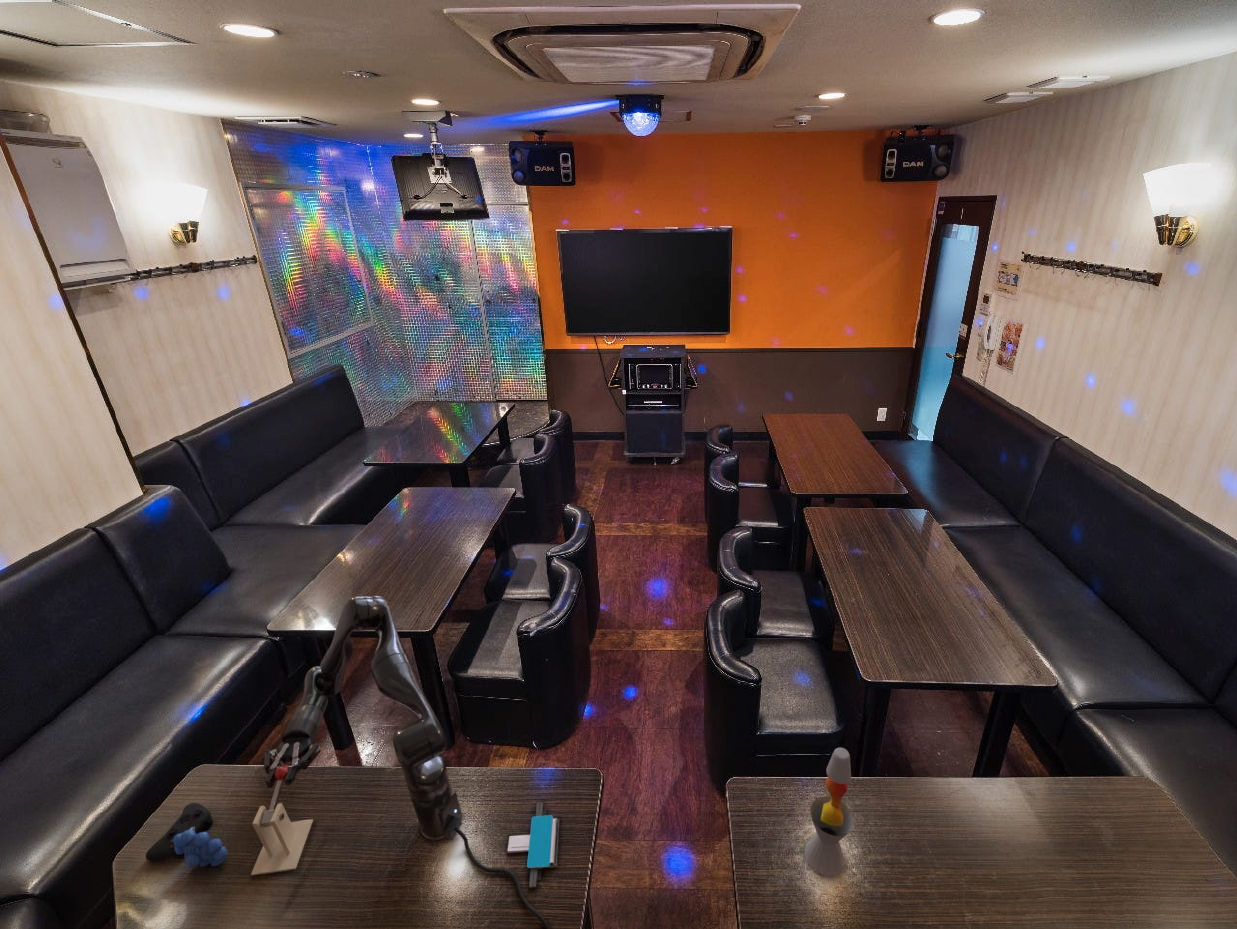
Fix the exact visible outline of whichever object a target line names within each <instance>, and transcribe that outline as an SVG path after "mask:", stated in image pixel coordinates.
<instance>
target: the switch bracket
mask: <svg viewBox="0 0 1237 929" xmlns="http://www.w3.org/2000/svg"><path fill="white" fill-rule="evenodd" d="M266 810H267V808H266V806H265V805H260V806H259V808H258V810H257V812H256V815H255V816H254V819H253V822H252V827H253V829H254V831H255V833H256V835H257V836H258V838H259V840H260V842H261V844H262V847H261V850H260V852H259V854H258V856H257V859H256V861H255V863H254V866H253V868H252V870H251V873H250V876H251V877H252V876H261V875H266V874H274V873H281V872H288V871H294V870H296V869H297V866H298V865H299V864H298V863H299V861H300V859H301V856H302V852H303V850H304V847H305V845H306V842H307V839H308V836H309V833H310V831H311V828H312V825H313V822H314V819H313V818H311V819H303V820H296V821H291V819H290V817H289V815H288V813H287V811H286V809H285V806H284V805H283V802H279V803H277V806H276V809H275V811H274V814H273V816H272V818H271V821H270V822H271V824H272V826H270V827H264V826H263V825H262V824H261V821H262V818H263V815H264V811H266Z"/></svg>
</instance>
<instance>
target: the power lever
mask: <svg viewBox="0 0 1237 929" xmlns="http://www.w3.org/2000/svg"><path fill="white" fill-rule="evenodd" d="M289 768H290V767H289V766H287V765H285V766H281V767H279V768H278V769H277V770H276V771H275V773H274V778H275V782H276V784H275V788H274V791H273V794H272V798H271V801H270V805H269V808H268V809H266V811H264V815H263V818H262V821H261V824H262V825H263V826H264V827H270V826H272V824H271V822H270V821H271V818H272V816H273V814H274V811H275V809H276V807H277V804H278V803H279V798H280V795H281V791H282V788H283V784H284V783H285V778H286V775H287V773H288V771H289Z"/></svg>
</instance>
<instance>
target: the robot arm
mask: <svg viewBox="0 0 1237 929" xmlns="http://www.w3.org/2000/svg"><path fill="white" fill-rule="evenodd" d="M362 631H363V632H364V631H365V632H366V631H374V632H375V633H377V637H378V644H377V646H376V649H375V651H374V653H373V656H372V658H371V661H370V662H371V664H370V671H371V674H372V677H373V680H374V682H375V685H376V687H377V689H378V691H379V692H380V693H381V694H382V695H383V696H384V697H385V698H387V699H389V700H390V701H393V702H395V703H397V704H400V705H401V706H403V707H406V708H407V709H408V710H409V711H411V712H412V713H414V715H416V716H417V718H418V719H417V720H416V721H413V722H411V723H409V724H408V725H405V726H404V727H401V728H399V729H398V730H396V731H395V732H393V736H392V747H393V750H394V753H395V756H396V758H397V760H398V763H399V765H400V768H401V770H402V773H403V776H404V779H405V783H406V787H407V789H408V790H407V791H408V794H409V795H410V799H411V802H412V805H413V810H414V813H415V816H416V818H417V821H418V824H419V829H420V832H421V834H422V836H423V837H424V838H425V839H426V840H428V841H441V840H443V839H447V840H449V841H453V840H454V838H456V835H457V834H458V835H459V836H460V837H461V839H462V840H463V843H464V844H463V845H464V848H465V851H466V853H467V855H468V857H469V859H470V861H471V862H472V863H473V864H474V865H475V866H476V867H477V868H479V869H480V870H481V871H484V872H486V873H497V874H505V875H508V876H509V877H511V878H512V880H513V881H514V884H515V886H516V890H517V893H518V896H519V898H520V900H521V902H522V904H523V906H524V907H525V908H526V909H527V910H529V912H530V913H532V914H533V915H534V916H535V917H536V918H537V919H538V920H539V921H540V923H541V924H542V926H543V927H544V929H549V928H550V926H549V924H548V923H547V921H546V919H545V918H544V917H543V916H542V914H541V913H539V911H537V909H535V908H534V907H533V906H532V905H531V903H529V902H528V900H527V898H526V897H525V895H524V892H523V890H522V886H521V883H520V880H519V878H518V877H517V875H516V874H515V873H514V872H512V871H511V870H509V869H506V868H500V867H499V868H498V867H489V866H485V865H484V864H482V863H481V862H479V861H478V860H477V859H476V857H475V855H474V854H473V852H472V849H471V848H470V845H469V841H468V838H467V835H466V834H465V833H464V832H463V831H462V830H461V829H460V828H461V826H462V825H463V822H462V817H463V814H462V810H461V806H460V803H459V798H458V795H457V792H456V791H455V790H453V788H452V785H451V780H450V778H449V773H448V770H447V765H446V762H445V760H444V759H443V757H442V756H441V755H442V754H443V753H445V752H446V750H447V748H448V742H447V741H448V740H447V736H446V734H445V732H444V729H443V727H442V725H441V723H440V721H439V719H438V717H437V715H436V714H435V712H434V710H433V708H432V706H431V704H430V702H429V700H428V698H427V696H426V694H425V692H424V690H423V688H422V686H421V683H420V681H419V678H418V675H417V673H416V671H415V668H414V666H413V664H412V661H411V659H410V657H409V655H408V652H407V651H406V649H405V646H404V645H403V642H402V640H401V637H400V635H399V632H398V630H397V627H396V624H395V620H394V617H393V614H392V611H391V608H390V606H389V603H388V600H386V598H385V597H383V596H382V595H358V596H352V597H350V598H348V600H347V601H346V602H345V603H344V605H343V607H342V609H341V613H340V616H339V618H338V621H337V624H336V627H335V630H334V634H333V638H332V640H331V643H330V645H329V646H328V649H327V651H326V652H325V654H324V655H323V657H322V659H321V661H320V664H319V665H316V666H313V667H311V668H310V669H309V670H308V671H307V672H306V673H305V676H304V679H303V683H302V684H303V686H302V696H301V700H300V702H299V704H298V706H297V708H296V711H295V712H294V713H293V714H292V717H291V718H290V720H289V723H288V725H287V727H286V729H285V731H284V733H283V736H282V737H281V742H280V744H279V745H278V746H277V747H276V748H275V749H272V750H271V749H270V748H267V749H265V750H264V751H263V752H264V754H263V768H264V770H265V773H266V775H267V776H266V778H265V784H266V787H267V789H272V788H273V786H274V784H275V782H276V780H275V778H274V773H275V771H276V770H277V769H278V768H279V767H281V766H287V764H288V763H290V762H291V766H290V767H289V771H288V773H287V775H286V778H285V781H284V784H285V786H286V787H289V786H291V784H292V783H294V781H295V779H296V777H297V774H298V773H299V772H300V771H301V770H303V771H305V770H307V769H308V768H309V767H310V766H311V764H313V762H314V761H315V759H316V758H317V757H318V756H319V754H320V753H321V751H322V750H321V747H320V745H319V743H318V742H315V738H316V736H317V734H318V731H319V729H320V727H321V724H322V720H323V717H324V714H325V711H326V710H327V708H328V705H329V698H333V697H335V696H337V695H338V694H339V693H340V691H341V690H342V687H343V685H344V681H345V680H344V679H345V672H346V669H348V666H349V664H350V663H351V661H352V659H353V656H354V654H355V646H354V643H353V640H352V639H351V634H352V633H353V632H362ZM314 742H315V743H314ZM313 743H314V744H313Z"/></svg>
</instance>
